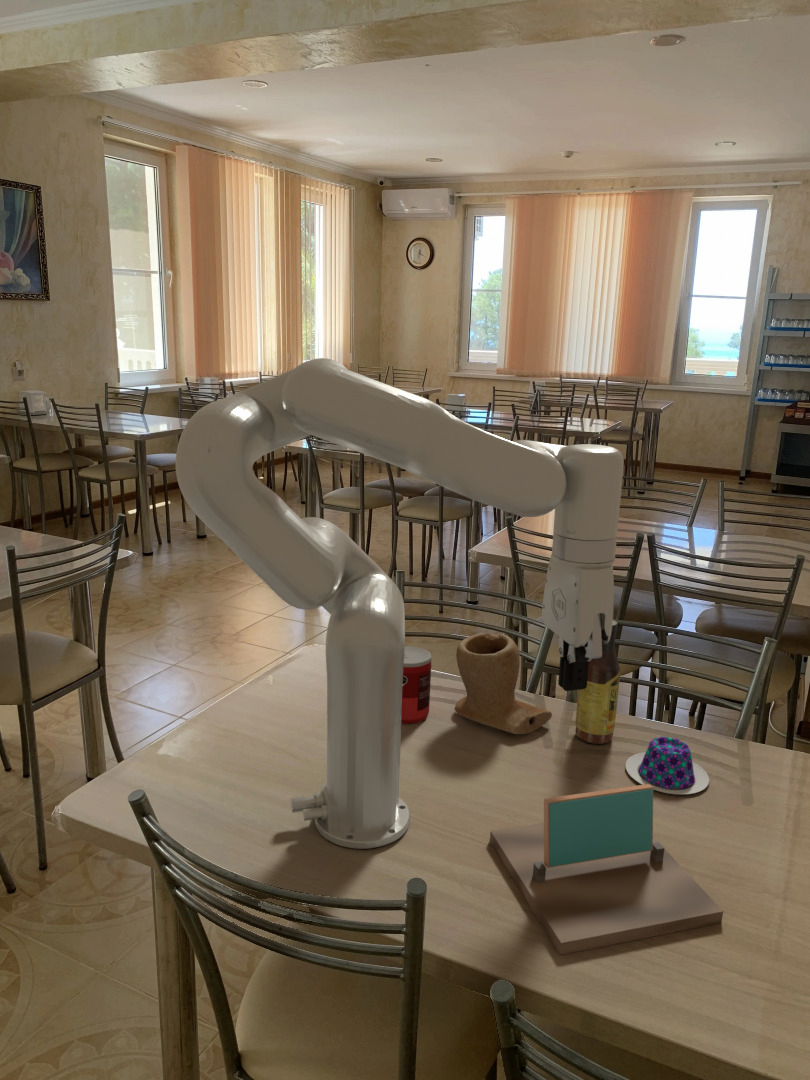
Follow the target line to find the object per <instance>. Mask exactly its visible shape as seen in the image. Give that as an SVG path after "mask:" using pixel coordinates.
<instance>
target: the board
mask: <svg viewBox="0 0 810 1080" xmlns="http://www.w3.org/2000/svg"><path fill="white" fill-rule="evenodd" d="M489 833H490V834H489V842H490V843H491V845H492V847H493V849H494V850H495V852H496V853H497V855H498V857H499V858H500V860H501V862H502V863H503V865H504V866H505V868H506V870H507V871H508V873H509V874H510V876H511V878H512V879H513V881H514V882H515V884H516V886H517V888H518V889H519V891H520V893H521V895H523V897H524V899H525V900H526V902H527V904H528V905H529V907H530V908H531V910H532V912H533V913H534V916H536V918H537V919H538V922H539V923H540V925H541V926H542V928H543V929H544V931H545V933H546V934H547V936H548V937H549V939H550V941H551V942H552V944H553V946H554V947H555V949H556V950H557V951H556V952H557V953H559V955H566V954H571V953H577V952H580V951H587V950H592V949H596V948H600V947H607V946H611V945H617V944H622V943H626V942H631V941H635V940H641V939H646V938H652V937H656V936H661V935H666V934H671V933H675V932H682V931H686V930H692V929H697V928H701V927H707V926H712V925H715V924H716V925H717V924H722V922H723V915H724V910H723V909H722V908H721V907H720V906H719V905H718V903H716V902H715V900H714V899H712V898H711V897H710V896H709V894H708V893H707V892H706V891H705V890H704V889H703V888H702V887H701V886H700V885H699V884H698V883H697V882H696V881H695V879H694V878H693V877H692V876H691V875H690V874H689V873H688V872H687V871H686V870H685V869H684V868H683V867H682V865H681V864H680V863H679V862H678V861H677V860H676V859H675V858H674V857H673V856H672V854H670V853H669V852H668V851H667V850H666V848H665V847H664V846H663V845H662V844H661V842H659V841H658V840H657V839H656V838H655V837H654V836H653V851H647V852H641V853H635V854H629V855H623V856H617V857H611V858H605V859H599V860H593V861H587V862H581V863H575V864H569V865H563V866H557V867H551V868H547V867H546V866H545V865H544V822H540V823H532V824H526V825H525V824H524V825H521V826H513V827H507V828H501V829H500V828H499V829H492V830H490V832H489Z"/></svg>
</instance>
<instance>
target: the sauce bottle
mask: <svg viewBox="0 0 810 1080" xmlns="http://www.w3.org/2000/svg"><path fill="white" fill-rule="evenodd" d="M618 625H619V624H618V621H616V620H614V619H613V622H612V631H611V636H610V640H609V642H608V643H607V644H605V645H603V644H602V657H601V658H595V659H591V661H589V668H588V679H587V687H586V688H585V689H580V690H577V700H576V701H577V702H576V714H575V715H576V716H575V722H574V723H575V734H576V737H578V738H579V739H580V740H581V741H583V742H586V743H588V744H595V745H603V744H607V743H609V742H610V741H612V739H613V735H614V731H615V728H616V727H615V726H616V718H617V708H618V699H619V698H618V697H619V689H620V679H621V678H620V677H621V668H620V663H619V660H618V656H617V651H616V646H615V645H616V633H617V631H618Z"/></svg>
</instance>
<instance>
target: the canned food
mask: <svg viewBox="0 0 810 1080" xmlns="http://www.w3.org/2000/svg"><path fill="white" fill-rule="evenodd" d="M431 676H432V654H431V653H430V651H428V650H427V649H424V648H421V647H419V646H413V645H412V646H411V645H405V651H404V664H403V682H402V711H401V713H402V716H401V725H402V724H403V725H411V724H418V723H421V722H423V721H424V720H426V719H427V718H428V715H429V712H430V700H431V698H430V697H431V681H432V680H431V679H432V677H431Z"/></svg>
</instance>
